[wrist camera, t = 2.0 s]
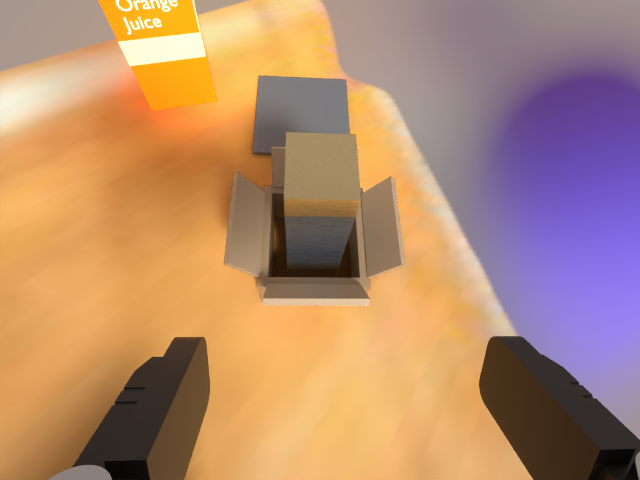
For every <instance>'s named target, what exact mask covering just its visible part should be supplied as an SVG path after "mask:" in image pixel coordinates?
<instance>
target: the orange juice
mask: <svg viewBox="0 0 640 480" xmlns="http://www.w3.org/2000/svg"><path fill="white" fill-rule="evenodd" d="M98 1H99V3H100V5H101V7H102V9H103V11H104V13H105V15H106V17H107V19H108V21H109V23H110V25H111V27H112V29H113V31H114V34H115V35H116V38H117V40H118V43H119V45H120V47H121V49H122V51H123V53H124V55H125V57H126V59H127V61H128V63H129V65H130V66H131V68H132V70H133V72H134V75H135V77H136V79H137V81H138V83H139V85H140V87H141V89H142V91H143V93H144V95H145V97H146V99H147V101H148V103H149V105H150V107H151V109H152V111H157V110H164V109H170V108H177V107H183V106H190V105H197V104H203V103H210V102H216V101H217V98H216V94H215V89H214V85H213V81H212V76H211V72H210V67H209V63H208V58H207V54H206V50H205V46H204V42H203V38H202V34H201V30H200V26H199V22H198V18H197V14H196V9H195V5H194V1H193V0H98Z"/></svg>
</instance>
